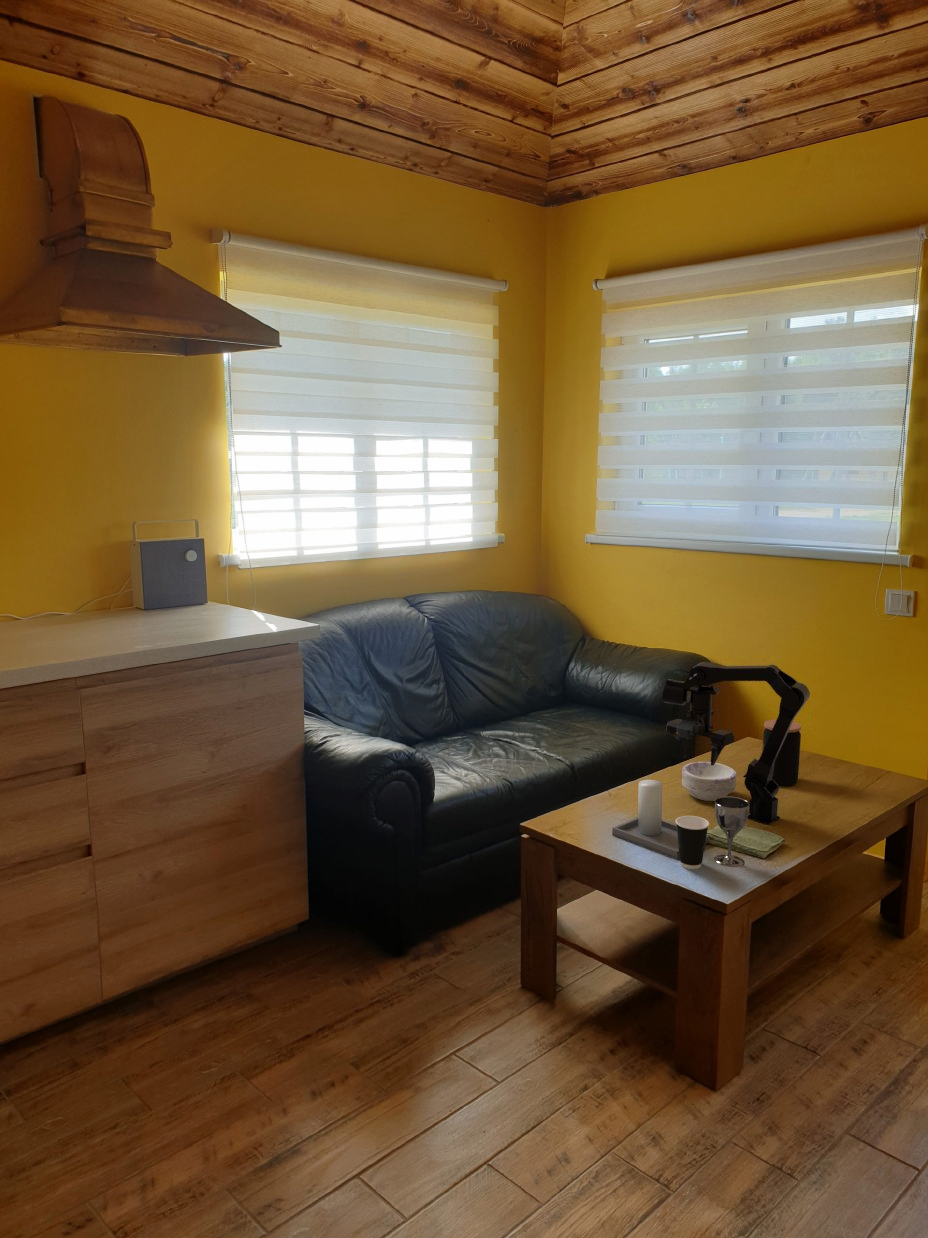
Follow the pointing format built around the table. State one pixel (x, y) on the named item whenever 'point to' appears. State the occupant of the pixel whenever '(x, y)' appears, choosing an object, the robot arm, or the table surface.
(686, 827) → the dixie cup
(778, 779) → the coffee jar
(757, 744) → the table surface
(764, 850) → the washcloth
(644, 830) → the white cylinder
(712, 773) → the paper bowls
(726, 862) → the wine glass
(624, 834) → the tray
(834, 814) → the table surface
